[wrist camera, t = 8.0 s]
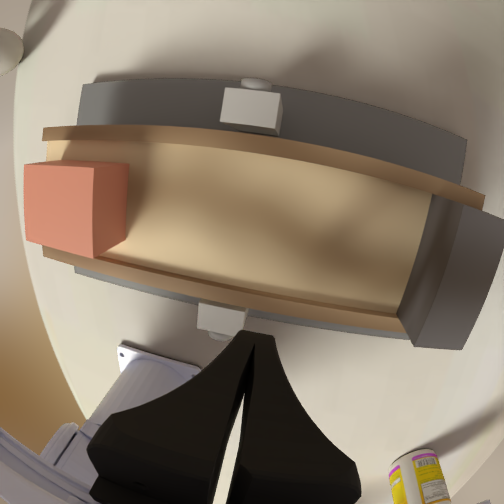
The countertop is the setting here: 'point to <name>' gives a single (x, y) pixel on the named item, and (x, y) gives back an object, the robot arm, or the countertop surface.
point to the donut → (9, 50)
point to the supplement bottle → (418, 479)
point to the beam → (293, 229)
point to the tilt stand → (273, 125)
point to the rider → (76, 205)
